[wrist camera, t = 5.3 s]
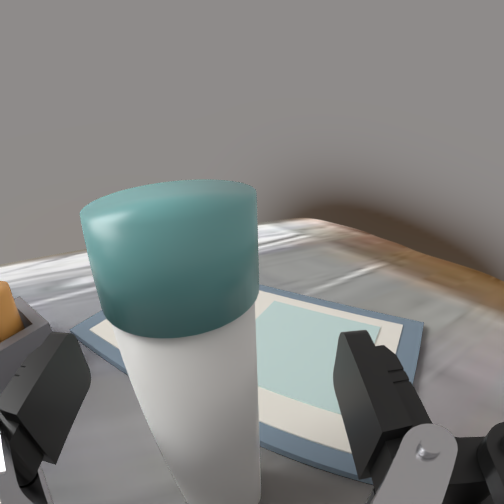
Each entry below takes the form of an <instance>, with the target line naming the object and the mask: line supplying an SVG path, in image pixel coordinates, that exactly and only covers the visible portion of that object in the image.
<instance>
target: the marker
mask: <svg viewBox="0 0 504 504" xmlns="http://www.w3.org/2000/svg"><path fill="white" fill-rule="evenodd" d="M256 196H257V195H256V190H255V189H254V188H253V187H252V186H250V185H247V184H244V183H240V182H234V181H225V180H183V181H171V182H163V183H156V184H150V185H145V186H139V187H134V188H130V189H126V190H123V191H119V192H115V193H112V194H110V195H107V196H104V197H101V198H99V199H97V200H95V201H93V202H91V203H89V204H88V205H86V206H85V207H84V208H83V209H82V210H81V211H80V218H81V224H82V229H83V233H84V238H85V243H86V248H87V253H88V257H89V261H90V266H91V270H92V274H93V278H94V282H95V285H96V289H97V293H98V297H99V300H100V304H101V307H102V310H103V313H104V315H105V317H106V319H107V320H108V321H109V322H110V323H111V325H112V328H113V331H114V334H115V338H116V341H117V344H118V347H119V350H120V353H121V356H122V359H123V361H124V364H125V367H126V370H127V373H128V375H129V378H130V381H131V383H132V386H133V389H134V391H135V394H136V396H137V399H138V401H139V404H140V406H141V409H142V411H143V414H144V416H145V418H146V421H147V423H148V425H149V427H150V430H151V432H152V434H153V436H154V439H155V441H156V443H157V445H158V447H159V449H160V451H161V453H162V456H163V458H164V460H165V462H166V464H167V466H168V468H169V470H170V472H171V473H172V475H173V477H174V479H175V481H176V483H177V485H178V487H179V489H180V490H181V492H182V494H183V496H184V498H185V499H186V501H187V503H188V504H259V501H260V498H261V467H260V437H259V408H258V378H257V349H256V320H255V301H256V299H257V296H258V294H259V262H258V227H257V197H256Z"/></svg>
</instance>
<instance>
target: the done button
mask: <svg viewBox="0 0 504 504" xmlns="http://www.w3.org/2000/svg"><path fill="white" fill-rule="evenodd" d="M23 329H25V327H24V325H23V322H22V320H21V317H20V315H19V312H18V309H17V307H16V304H15V301H14V299H13V296H12V293H11V290H10V287H9V284H8V283H7V282H4V281H0V343H1V342H2V341H4V340H6V339H8V338H9V337H11V336H13V335H14V334H16V333H18V332H20V331H21V330H23Z"/></svg>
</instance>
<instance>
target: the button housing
mask: <svg viewBox="0 0 504 504" xmlns="http://www.w3.org/2000/svg"><path fill="white" fill-rule="evenodd" d="M14 301H15V304H16V307H17V309H18V312H19V315H20V317H21V320H22V322H23V325H24V327H25V329H23V330H21V331H20V332H18V333H16V334H14V335H13V336H11V337H9V338H8V339H6V340H4V341H2V342H1V343H0V395H1V394H2V392H3V391H4V389H5V388H6V386H7V385H8V383H9V382H10V380H11V379H12V377H13V376H14V377H15V373H16V371H17V370H18V369H19V368H21V364H22V363H23V361H24V360H25V359H26V357H27V356H28V355H29V354H30V353H31V352H32V351H34V350H35V349H36V348H38V347H39V346H41V344H42V343H43V342H44V340H45V339H46V338H47V336H48V335H49V334H50V333H51V332H52V330H51V327H50V325H49V322H47V321H46V320H45V319H44V318H43V317H42V316H41V315H39V314H38V313H37V312H36V311H35V310H34V309H33V308H32V307H31V306H30V305H29V304H27V303H26V302H25V301H24V300H23V299H22V298H21V297H20V296H19V297H17V298H15V299H14Z"/></svg>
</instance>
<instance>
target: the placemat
mask: <svg viewBox="0 0 504 504" xmlns="http://www.w3.org/2000/svg"><path fill="white" fill-rule="evenodd" d="M255 320H256V349H257V378H258V408H259V437H260V446H261V447H263V448H266V449H268V450H271V451H273V452H276V453H278V454H281V455H283V456H286V457H288V458H291V459H293V460H296V461H299V462H301V463H304V464H307V465H310V466H313V467H316V468H319V469H322V470H325V471H328V472H331V473H334V474H337V475H340V476H344V477H347V478H350V479H354V480H357V481H361V482H365V483H368V484H372V485H373V482H372V478H366V479H361V480H359V479H358V475H357V471H356V467H355V463H354V460H353V456H352V452H351V448H350V444H349V441H348V437H347V433H346V430H345V426H344V422H343V419H342V415H341V412H340V408H339V405H338V401H337V397H336V394H335V390H334V385H333V370H334V364H335V358H336V352H337V345H338V339H339V335H340V333H341V332H348V331H358V330H367V331H368V333H369V334H370V336H371V338H372V340H373V342H374V344H375V346H380V345H385V346H386V347H387V348H388V349H390V350H391V351H392V352H393V353H394V354H396V355H397V357H398V359H399V361H400V362H401V364H402V366H403V368H404V371H405V372H406V374H407V375H408V377H409V382H411V383H412V385H413V380H414V376H415V371H416V366H417V361H418V355H419V350H420V344H421V338H422V332H423V325H424V322H419V321H414V320H410V319H405V318H400V317H396V316H391V315H387V314H382V313H378V312H373V311H369V310H364V309H360V308H356V307H351V306H347V305H343V304H338V303H334V302H330V301H325V300H321V299H317V298H313V297H309V296H304V295H300V294H296V293H292V292H288V291H284V290H280V289H276V288H272V287H268V286H264V285H260V284H259V294H258V296H257V299H256V301H255ZM70 332H71V333H72V334H74V335H75V336H76V338H77V339H78V340H79V341H80V342H82V343H83V344H84V345H86V346H87V347H88V348H90V349H91V350H92V351H94V352H95V353H96V354H98V355H99V356H101V357H102V358H103V359H105V360H106V361H108V362H109V363H111V364H112V365H114V366H115V367H116V368H118V369H119V370H121V371H122V372H124V373H125V374H127V375H128V373H127V370H126V367H125V364H124V361H123V359H122V356H121V353H120V350H119V347H118V344H117V341H116V338H115V334H114V331H113V328H112V325H111V323H110V322H109V321H108V320H107V319H106V317H105V315H104V313H103V310H102V311H100V312H98V313H97V314H95V315H93V316H91V317H90V318H88V319H86V320H85V321H83V322H81V323H80V324H78V325H76V326H75V327H73V328H71V329H70Z"/></svg>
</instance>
